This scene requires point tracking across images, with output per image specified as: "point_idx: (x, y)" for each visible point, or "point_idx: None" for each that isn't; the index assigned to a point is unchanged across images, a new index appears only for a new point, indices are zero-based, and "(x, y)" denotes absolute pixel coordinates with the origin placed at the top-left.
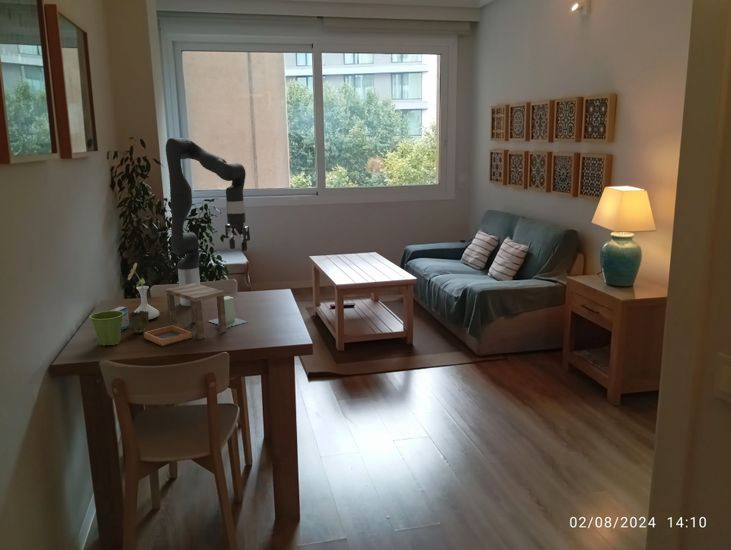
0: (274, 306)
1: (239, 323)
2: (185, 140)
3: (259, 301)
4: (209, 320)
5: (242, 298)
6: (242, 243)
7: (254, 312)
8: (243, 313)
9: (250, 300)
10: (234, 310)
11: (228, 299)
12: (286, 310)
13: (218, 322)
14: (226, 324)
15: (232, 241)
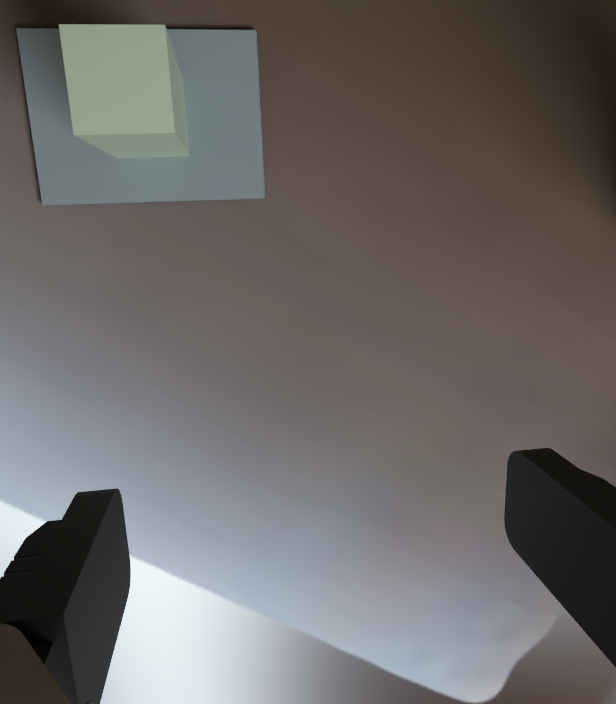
0: (239, 508)
1: (39, 141)
2: None
3: (398, 504)
4: (255, 43)
5: None
6: (21, 609)
7: (217, 360)
8: (249, 302)
9: (457, 480)
10: (101, 149)
11: (66, 75)
12: None
13: None
14: None
15: (605, 585)
